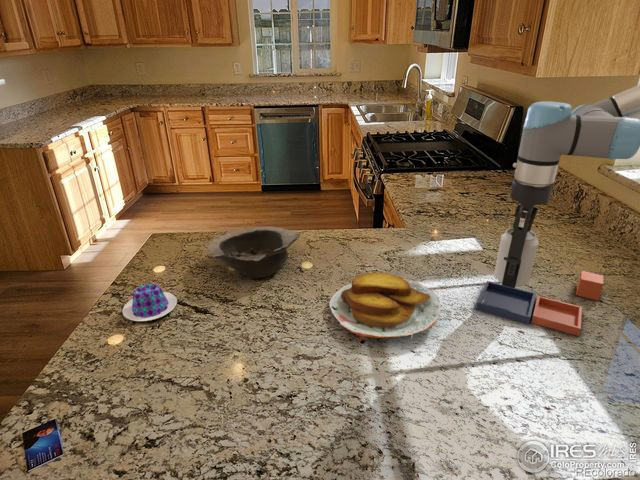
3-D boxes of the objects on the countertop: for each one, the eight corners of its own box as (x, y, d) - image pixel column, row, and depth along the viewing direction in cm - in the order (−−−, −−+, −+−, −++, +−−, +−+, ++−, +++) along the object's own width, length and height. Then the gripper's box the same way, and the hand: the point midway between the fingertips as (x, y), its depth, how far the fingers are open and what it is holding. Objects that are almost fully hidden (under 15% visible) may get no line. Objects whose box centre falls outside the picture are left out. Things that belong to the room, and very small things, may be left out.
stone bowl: (278, 292, 105) (274, 259, 101) (193, 282, 113) (185, 251, 109) (312, 248, 125) (309, 219, 121) (238, 242, 134) (233, 215, 130)
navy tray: (534, 299, 102) (536, 292, 101) (528, 324, 93) (530, 317, 92) (485, 287, 107) (487, 280, 106) (475, 309, 98) (477, 302, 97)
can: (496, 268, 102) (505, 222, 96) (530, 276, 98) (542, 229, 93) (490, 283, 96) (499, 235, 91) (526, 292, 92) (538, 242, 87)
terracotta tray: (580, 313, 96) (582, 306, 96) (578, 336, 89) (581, 328, 89) (535, 302, 101) (537, 295, 100) (531, 322, 94) (532, 315, 93)
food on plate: (367, 363, 82) (368, 336, 80) (310, 299, 102) (310, 276, 100) (465, 324, 93) (469, 299, 90) (396, 274, 113) (398, 252, 110)
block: (598, 291, 105) (603, 275, 103) (598, 300, 101) (603, 284, 99) (576, 286, 107) (581, 270, 105) (576, 295, 103) (581, 279, 101)
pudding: (175, 290, 107) (172, 272, 104) (179, 316, 96) (175, 297, 94) (123, 300, 103) (119, 281, 100) (122, 329, 93) (117, 309, 90)
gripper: (520, 166, 96) (501, 255, 106) (504, 193, 81) (485, 294, 91) (557, 171, 93) (534, 262, 103) (548, 200, 77) (522, 304, 87)
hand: (511, 277), depth 97 cm, fingers closed on can, 7 cm apart
